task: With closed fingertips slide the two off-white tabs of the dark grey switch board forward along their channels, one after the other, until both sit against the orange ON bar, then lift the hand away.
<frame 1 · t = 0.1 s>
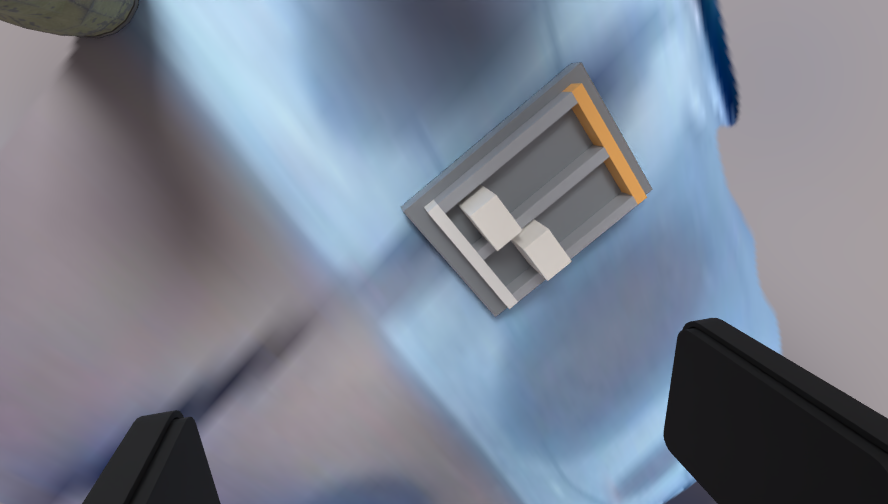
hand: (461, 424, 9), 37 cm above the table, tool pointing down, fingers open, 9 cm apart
tab 1: (488, 216, 42), point 5 cm above the table, slide at 0.0 cm
switch board: (527, 195, 48), on the table
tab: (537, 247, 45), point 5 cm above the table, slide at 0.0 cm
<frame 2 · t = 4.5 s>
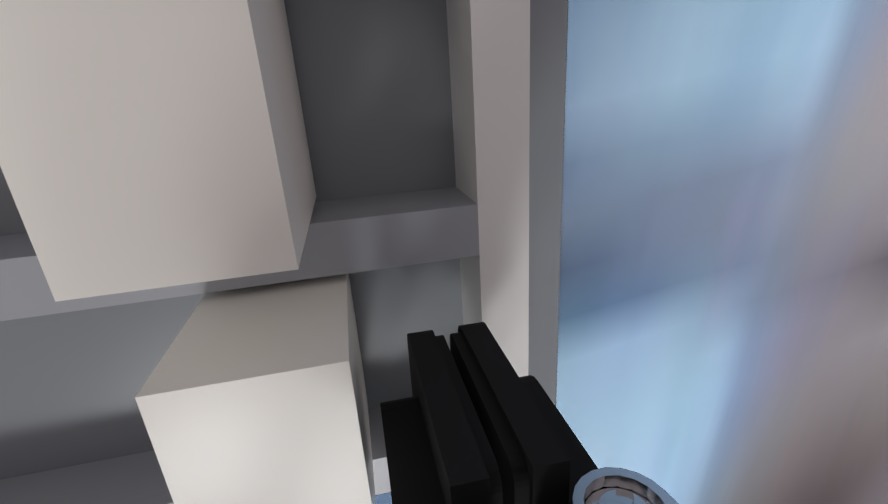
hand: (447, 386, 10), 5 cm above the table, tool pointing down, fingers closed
tab 1: (290, 398, 10), point 5 cm above the table, slide at 1.5 cm, touching gripper
switch board: (157, 224, 12), on the table
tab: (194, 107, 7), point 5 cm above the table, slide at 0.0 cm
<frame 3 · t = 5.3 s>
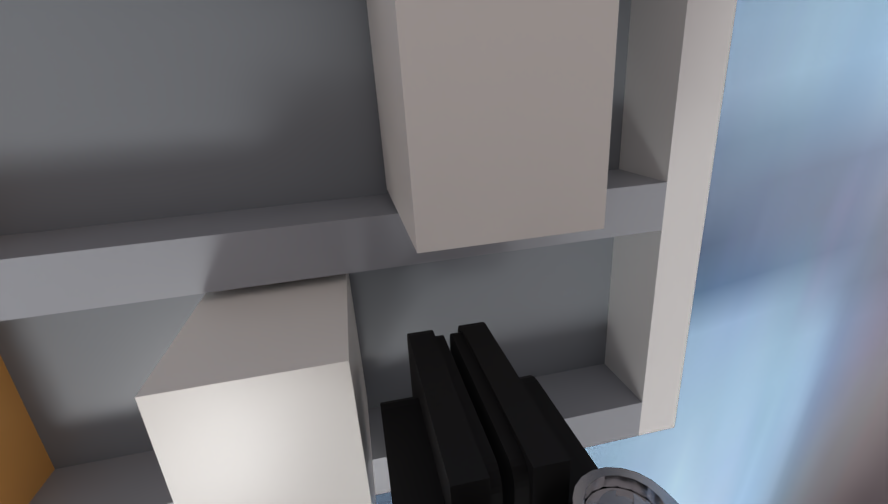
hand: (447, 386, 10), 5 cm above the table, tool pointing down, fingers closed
tab 1: (290, 398, 10), point 5 cm above the table, slide at 6.2 cm, touching gripper
switch board: (331, 205, 13), on the table
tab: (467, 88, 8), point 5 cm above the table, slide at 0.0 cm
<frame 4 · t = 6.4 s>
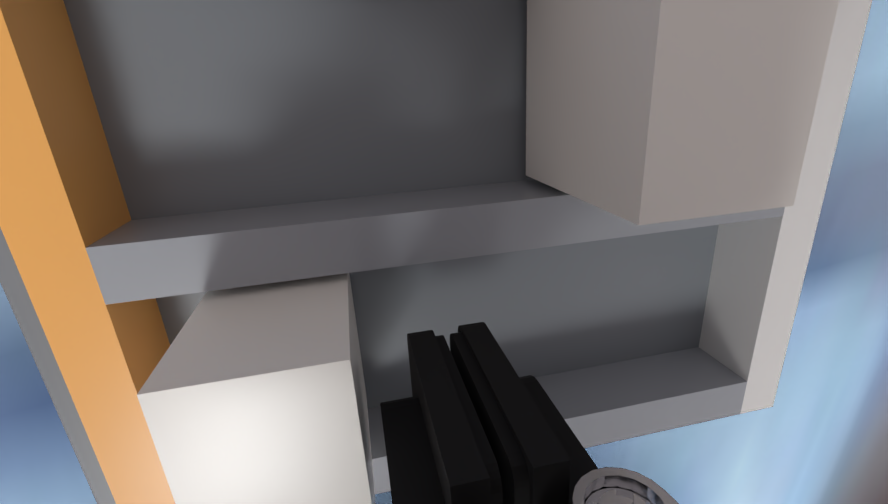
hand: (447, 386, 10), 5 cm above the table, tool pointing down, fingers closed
tab 1: (290, 397, 10), point 5 cm above the table, slide at 9.8 cm, touching gripper
switch board: (451, 193, 14), on the table
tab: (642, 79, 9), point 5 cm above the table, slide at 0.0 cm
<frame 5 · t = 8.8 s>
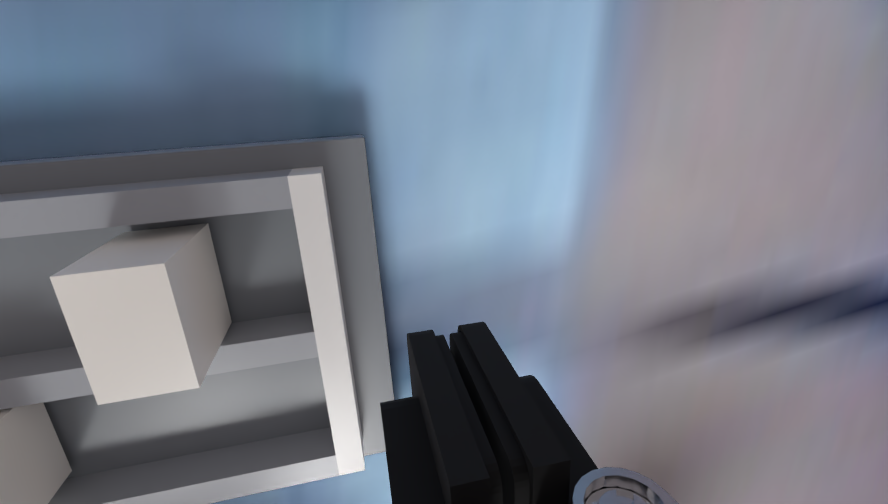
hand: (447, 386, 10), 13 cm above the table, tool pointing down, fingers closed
switch board: (143, 329, 21), on the table
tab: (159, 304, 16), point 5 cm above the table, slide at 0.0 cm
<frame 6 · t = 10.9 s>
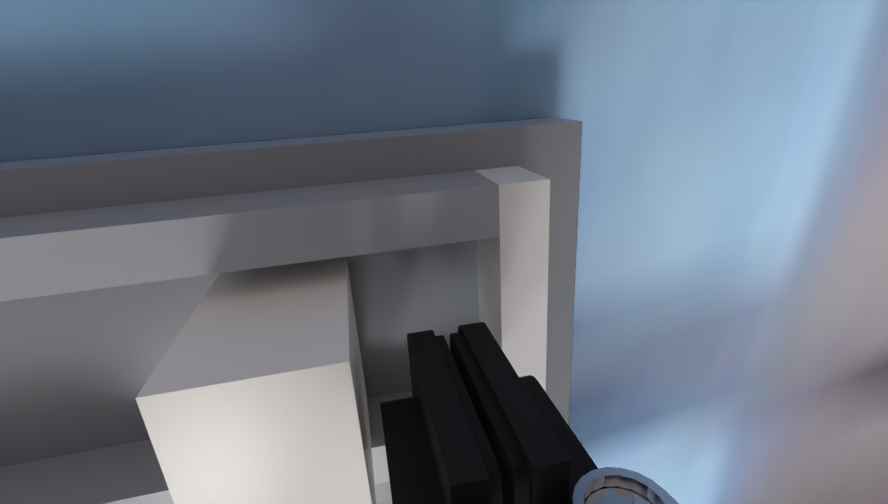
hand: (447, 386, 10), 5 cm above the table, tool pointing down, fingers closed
switch board: (226, 400, 14), on the table
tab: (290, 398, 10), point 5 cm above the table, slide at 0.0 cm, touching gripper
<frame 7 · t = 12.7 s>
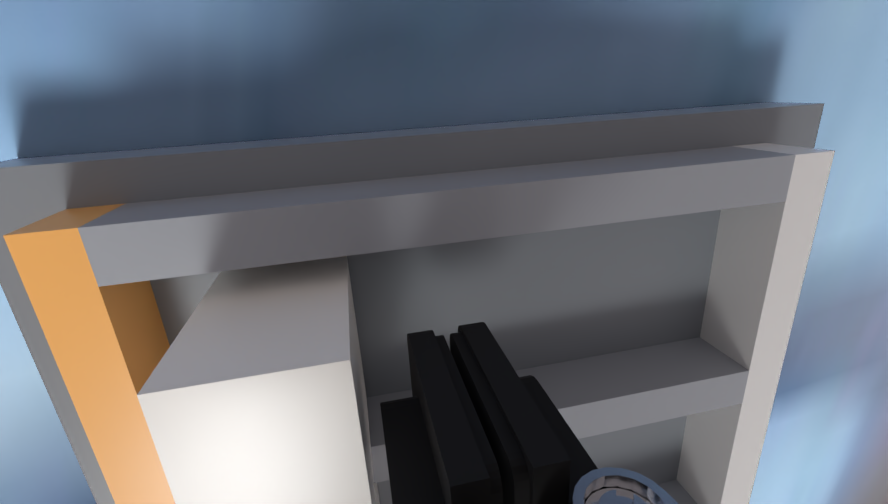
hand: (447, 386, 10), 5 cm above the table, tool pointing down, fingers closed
switch board: (459, 359, 16), on the table
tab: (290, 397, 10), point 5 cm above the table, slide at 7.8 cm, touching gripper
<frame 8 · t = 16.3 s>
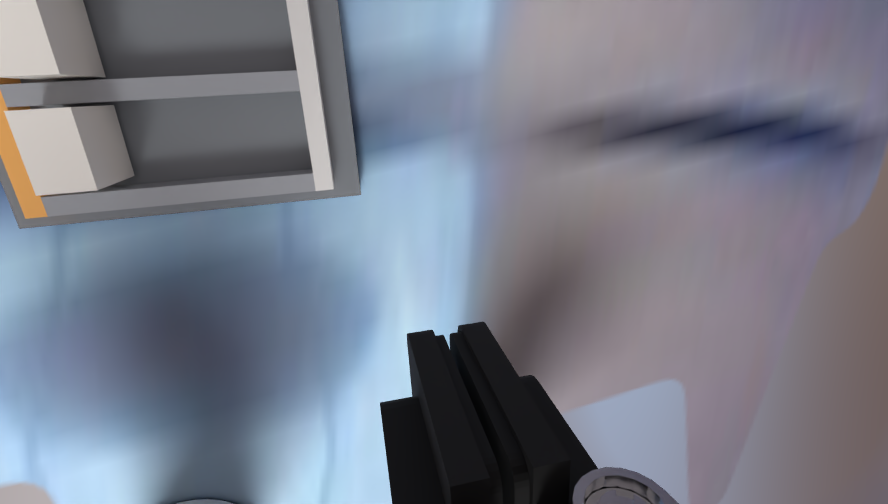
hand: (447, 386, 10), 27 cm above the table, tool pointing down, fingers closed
tab 1: (77, 147, 26), point 5 cm above the table, slide at 9.8 cm
switch board: (181, 88, 30), on the table
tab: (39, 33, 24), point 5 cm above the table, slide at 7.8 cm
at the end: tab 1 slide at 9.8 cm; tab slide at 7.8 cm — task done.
